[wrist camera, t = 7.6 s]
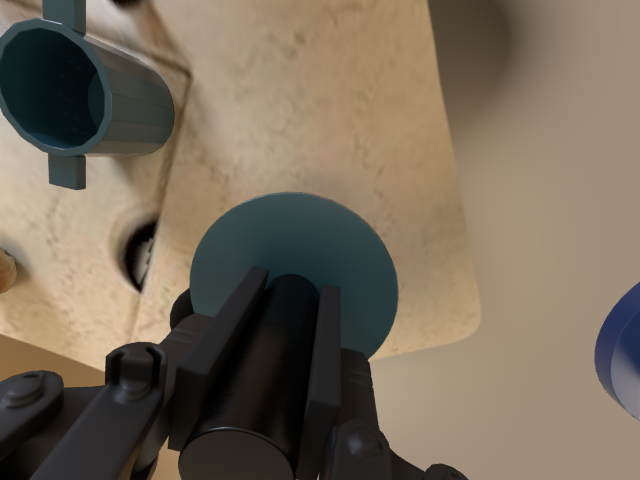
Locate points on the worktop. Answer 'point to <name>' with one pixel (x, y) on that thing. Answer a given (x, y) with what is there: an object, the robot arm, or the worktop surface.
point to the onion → (7, 271)
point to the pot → (78, 93)
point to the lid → (281, 325)
